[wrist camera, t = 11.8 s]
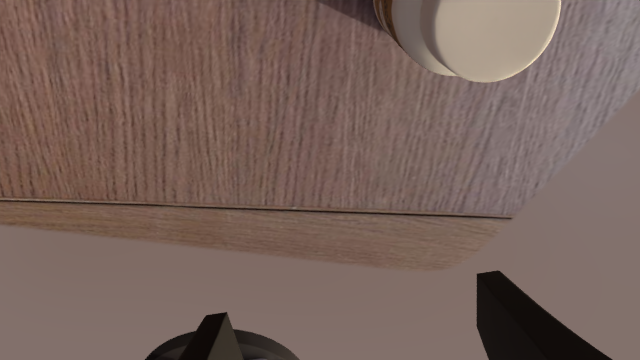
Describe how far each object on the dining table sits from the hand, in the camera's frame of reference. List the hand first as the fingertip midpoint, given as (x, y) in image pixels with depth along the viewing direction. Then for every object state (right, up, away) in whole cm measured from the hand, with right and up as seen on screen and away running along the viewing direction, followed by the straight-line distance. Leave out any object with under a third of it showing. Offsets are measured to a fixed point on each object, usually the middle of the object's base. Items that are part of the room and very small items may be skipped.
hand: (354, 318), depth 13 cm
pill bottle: (+3, +12, +6) cm, 14 cm away
